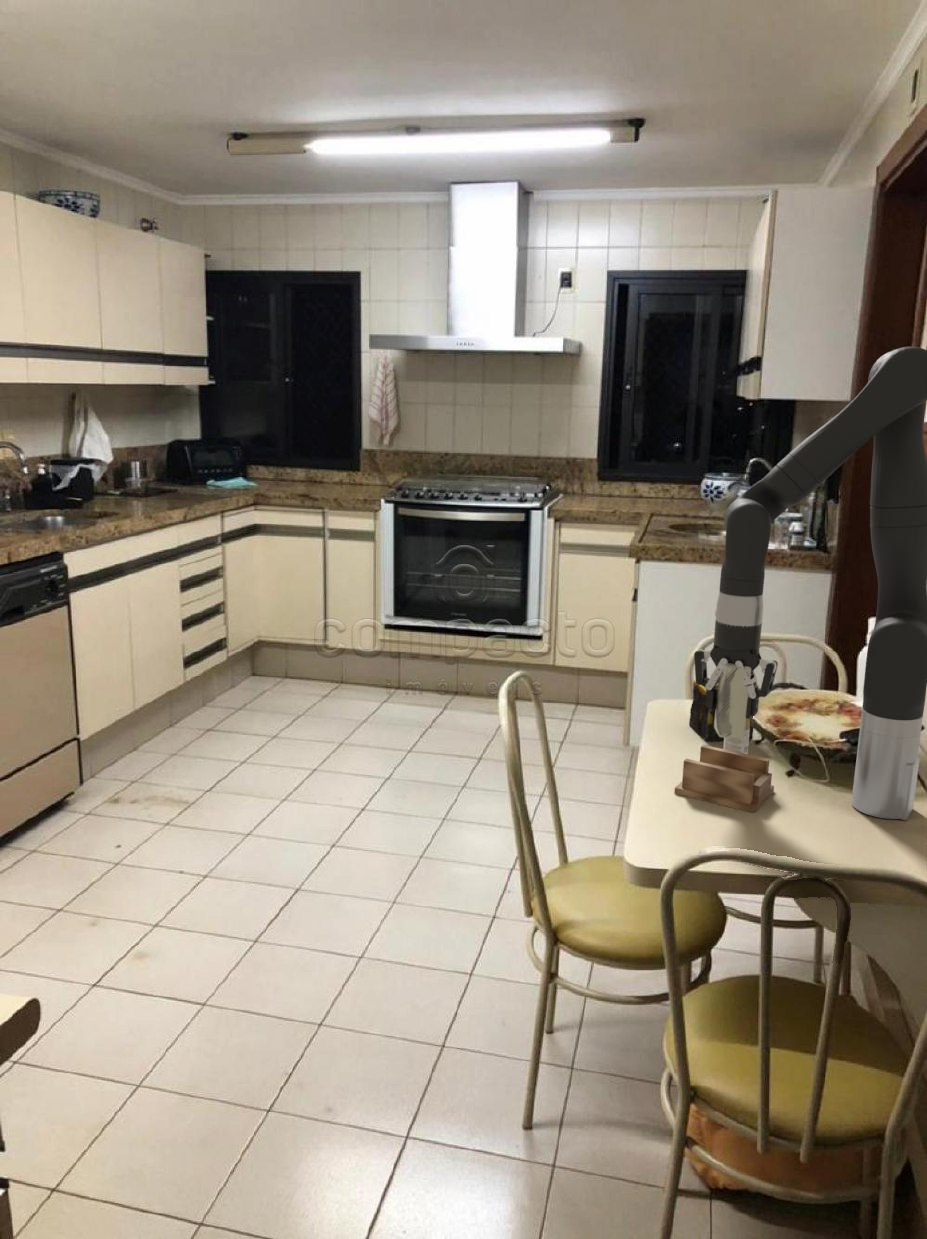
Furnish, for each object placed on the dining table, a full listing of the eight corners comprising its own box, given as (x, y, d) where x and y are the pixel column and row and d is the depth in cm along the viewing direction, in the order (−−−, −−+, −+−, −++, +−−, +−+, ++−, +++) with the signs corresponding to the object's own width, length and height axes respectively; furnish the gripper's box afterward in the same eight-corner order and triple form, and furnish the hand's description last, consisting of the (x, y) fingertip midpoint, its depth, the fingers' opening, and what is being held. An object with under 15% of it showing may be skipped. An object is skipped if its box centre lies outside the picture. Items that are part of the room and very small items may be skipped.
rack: (773, 791, 169) (776, 759, 168) (753, 813, 160) (756, 779, 159) (697, 773, 177) (699, 742, 175) (674, 793, 168) (676, 760, 166)
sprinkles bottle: (731, 763, 181) (736, 695, 178) (751, 770, 178) (757, 701, 175) (716, 769, 179) (721, 700, 175) (737, 776, 175) (742, 706, 172)
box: (713, 728, 168) (718, 657, 165) (738, 728, 168) (744, 658, 165) (719, 738, 163) (725, 666, 160) (745, 739, 163) (752, 666, 160)
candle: (688, 725, 202) (691, 680, 200) (734, 724, 203) (738, 679, 201) (705, 742, 192) (708, 695, 190) (753, 741, 193) (757, 694, 191)
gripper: (788, 620, 160) (779, 716, 164) (705, 608, 168) (698, 700, 172) (775, 629, 154) (765, 728, 158) (689, 616, 162) (682, 711, 166)
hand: (730, 713), depth 165 cm, fingers closed on box, 6 cm apart
